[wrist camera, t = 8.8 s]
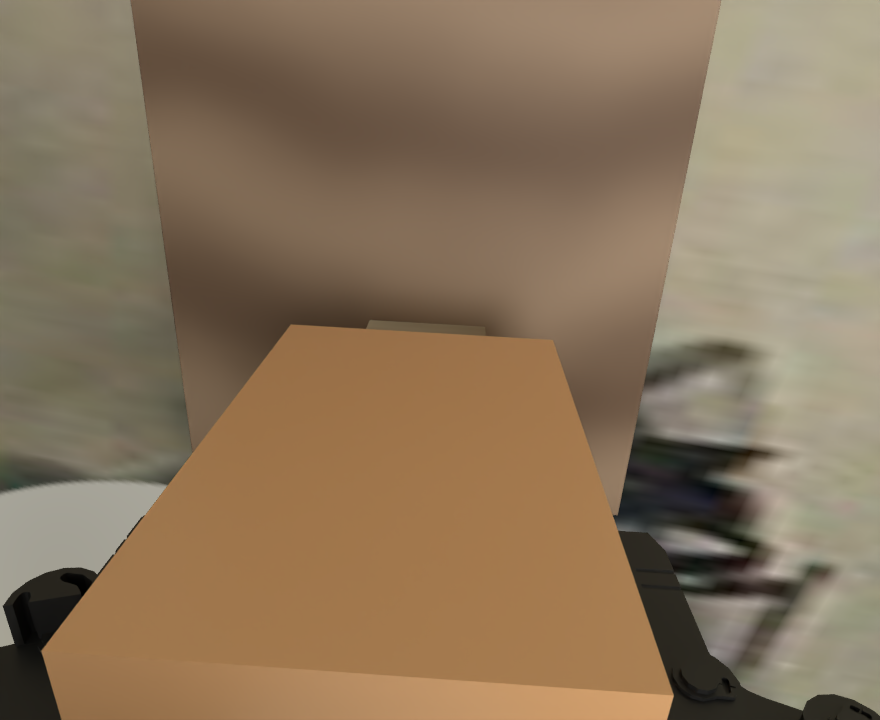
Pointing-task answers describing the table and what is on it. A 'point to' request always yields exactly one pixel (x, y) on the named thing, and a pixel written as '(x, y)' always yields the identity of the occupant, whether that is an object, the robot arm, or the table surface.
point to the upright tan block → (374, 552)
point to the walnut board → (423, 178)
